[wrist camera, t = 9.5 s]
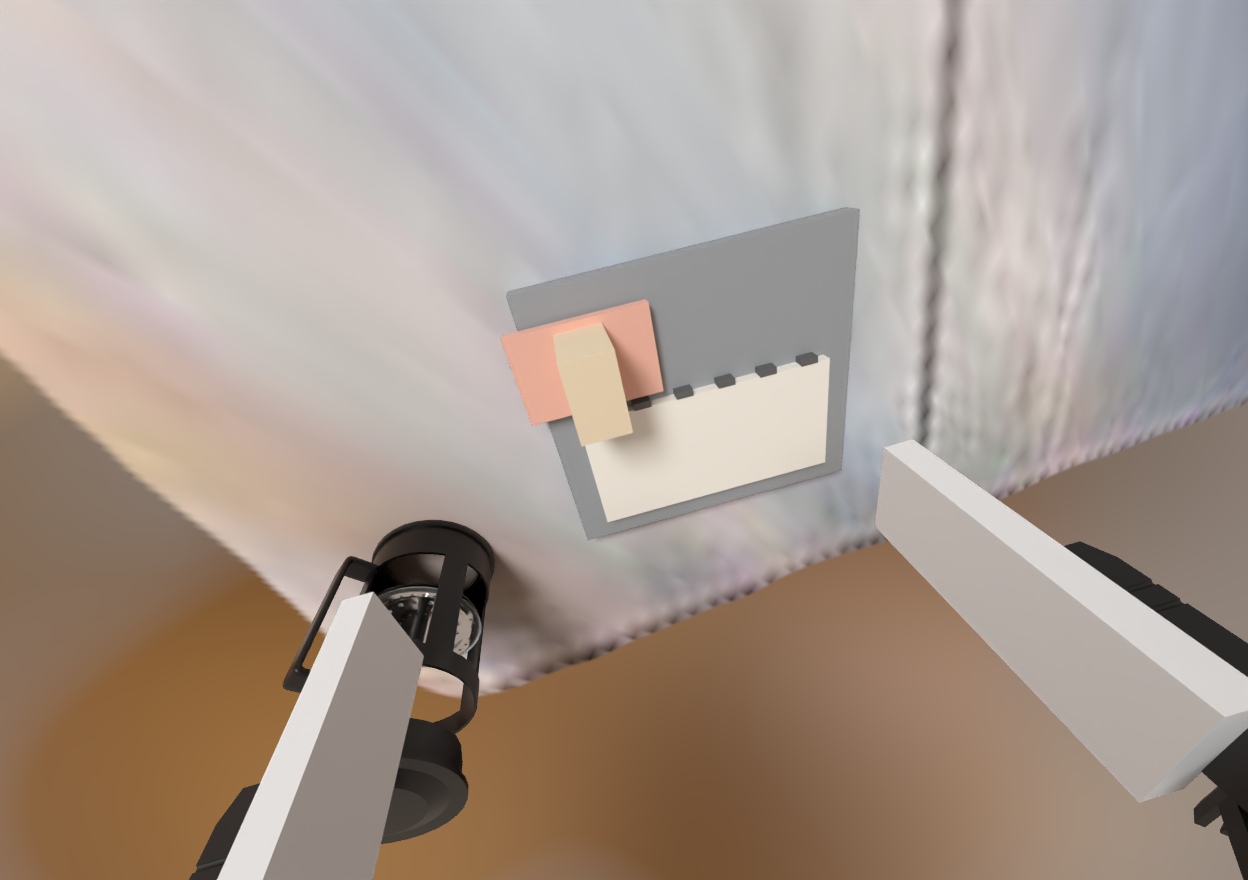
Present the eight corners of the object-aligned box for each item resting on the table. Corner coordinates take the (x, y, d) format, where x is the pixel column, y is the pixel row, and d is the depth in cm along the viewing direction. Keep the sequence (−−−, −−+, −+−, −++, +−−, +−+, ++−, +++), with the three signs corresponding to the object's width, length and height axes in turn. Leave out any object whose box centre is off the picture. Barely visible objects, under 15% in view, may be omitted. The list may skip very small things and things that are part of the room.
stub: (645, 298, 28) (670, 325, 23) (660, 386, 31) (685, 426, 26) (501, 335, 27) (494, 370, 22) (532, 420, 30) (531, 467, 25)
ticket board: (845, 207, 29) (868, 209, 27) (831, 460, 39) (847, 475, 37) (507, 291, 28) (505, 300, 26) (586, 528, 38) (588, 547, 36)
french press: (523, 550, 38) (513, 942, 19) (466, 618, 41) (406, 1020, 22) (384, 491, 33) (173, 945, 14) (330, 573, 36) (90, 1047, 16)
